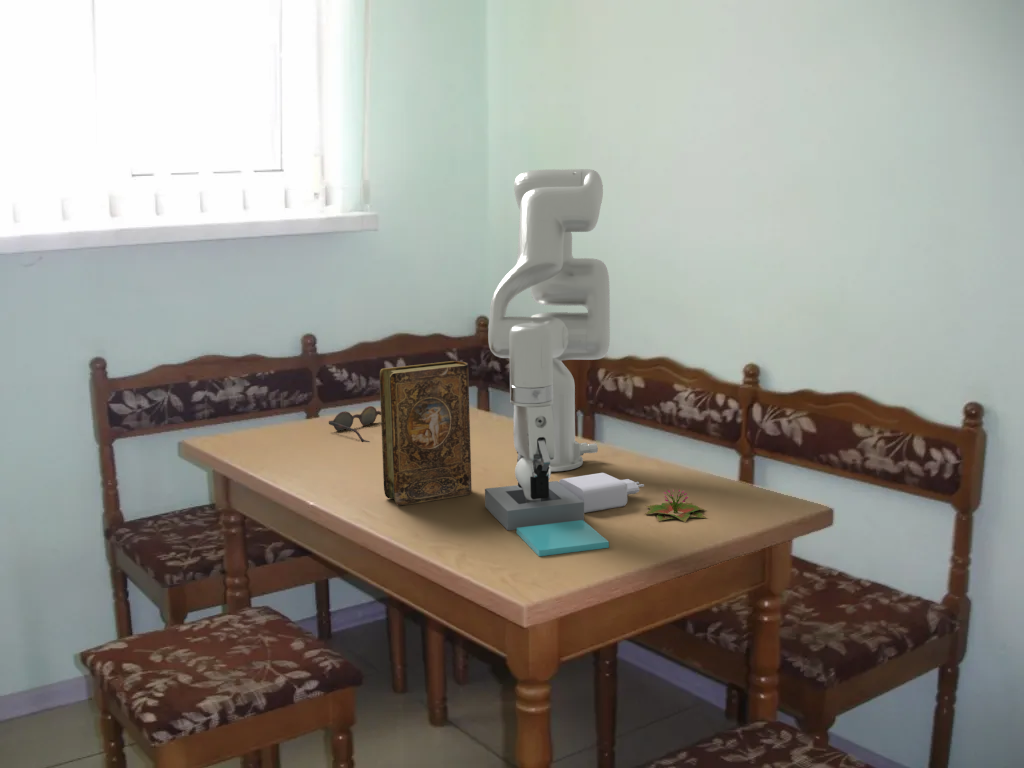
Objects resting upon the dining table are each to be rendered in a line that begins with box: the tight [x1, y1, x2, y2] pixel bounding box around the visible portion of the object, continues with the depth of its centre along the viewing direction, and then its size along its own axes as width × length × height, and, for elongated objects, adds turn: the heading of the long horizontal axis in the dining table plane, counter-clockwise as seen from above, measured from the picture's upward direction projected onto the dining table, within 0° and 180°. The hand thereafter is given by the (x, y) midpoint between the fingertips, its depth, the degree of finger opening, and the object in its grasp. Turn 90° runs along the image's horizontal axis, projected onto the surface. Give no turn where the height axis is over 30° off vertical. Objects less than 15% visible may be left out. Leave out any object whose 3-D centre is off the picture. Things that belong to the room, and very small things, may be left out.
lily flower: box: [644, 489, 707, 523], centre depth 202 cm, size 12×12×5 cm
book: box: [379, 360, 473, 506], centre depth 212 cm, size 16×6×25 cm, turn 117°
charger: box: [558, 472, 645, 514], centre depth 209 cm, size 5×9×15 cm
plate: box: [516, 520, 610, 557], centre depth 189 cm, size 12×12×1 cm
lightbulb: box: [514, 456, 552, 503], centre depth 202 cm, size 6×6×11 cm
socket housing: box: [484, 480, 585, 531], centre depth 203 cm, size 14×14×4 cm
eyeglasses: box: [328, 405, 381, 443], centre depth 266 cm, size 15×15×5 cm
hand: (533, 491), depth 202 cm, fingers open, 6 cm apart
